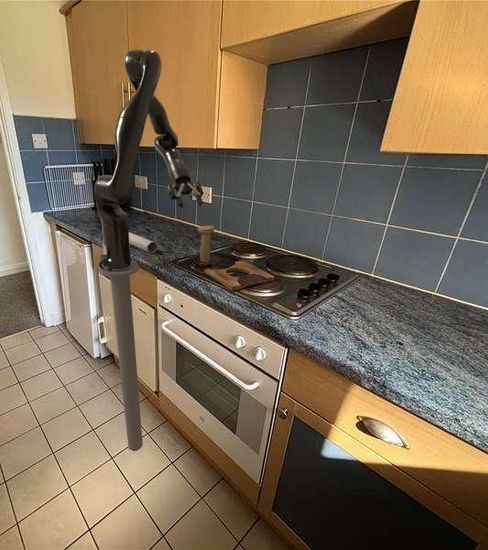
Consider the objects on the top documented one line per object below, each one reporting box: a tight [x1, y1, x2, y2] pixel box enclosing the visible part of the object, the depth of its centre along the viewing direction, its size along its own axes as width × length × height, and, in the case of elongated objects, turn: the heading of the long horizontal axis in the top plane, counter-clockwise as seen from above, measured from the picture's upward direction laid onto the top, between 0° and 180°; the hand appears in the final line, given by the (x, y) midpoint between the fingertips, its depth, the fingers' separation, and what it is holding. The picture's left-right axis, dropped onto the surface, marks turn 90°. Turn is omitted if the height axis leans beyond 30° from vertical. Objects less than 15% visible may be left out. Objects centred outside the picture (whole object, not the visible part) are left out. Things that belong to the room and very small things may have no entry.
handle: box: [197, 225, 215, 266], centre depth 116 cm, size 5×6×15 cm
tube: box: [129, 231, 158, 255], centre depth 138 cm, size 5×5×25 cm
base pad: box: [203, 260, 275, 292], centre depth 108 cm, size 18×18×2 cm
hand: (191, 205), depth 120 cm, fingers open, 8 cm apart
